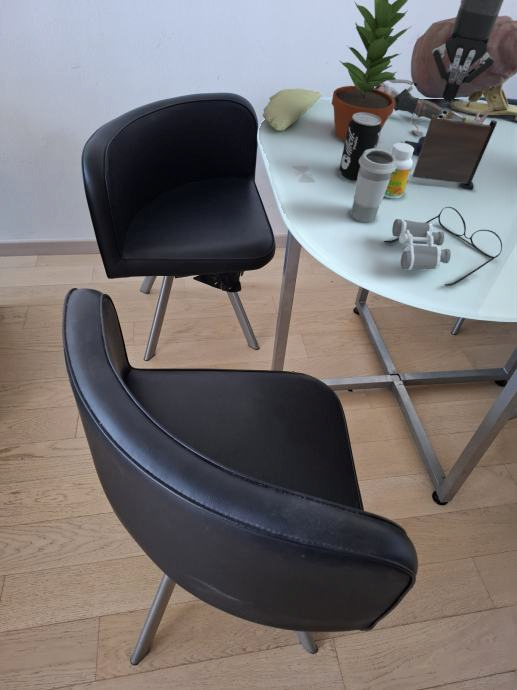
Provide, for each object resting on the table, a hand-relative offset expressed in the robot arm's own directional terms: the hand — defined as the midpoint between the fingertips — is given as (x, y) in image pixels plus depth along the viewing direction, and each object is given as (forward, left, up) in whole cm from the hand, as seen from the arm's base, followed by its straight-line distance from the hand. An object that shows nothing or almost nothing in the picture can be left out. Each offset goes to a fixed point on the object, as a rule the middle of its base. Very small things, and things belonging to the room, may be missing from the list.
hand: (447, 100), depth 108 cm
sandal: (-19, -32, -12) cm, 39 cm away
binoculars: (+4, +45, -10) cm, 47 cm away
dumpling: (+32, -7, -10) cm, 34 cm away
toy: (-14, -17, -9) cm, 24 cm away
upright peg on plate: (-8, +14, -12) cm, 20 cm away
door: (-1, +16, -10) cm, 19 cm away
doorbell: (0, 0, -12) cm, 12 cm away
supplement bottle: (+9, +23, -12) cm, 27 cm away
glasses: (0, +42, -8) cm, 43 cm away
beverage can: (+17, +18, -12) cm, 27 cm away
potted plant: (+18, -2, -12) cm, 21 cm away
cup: (+14, +34, -12) cm, 39 cm away
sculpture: (-8, -23, +6) cm, 25 cm away
